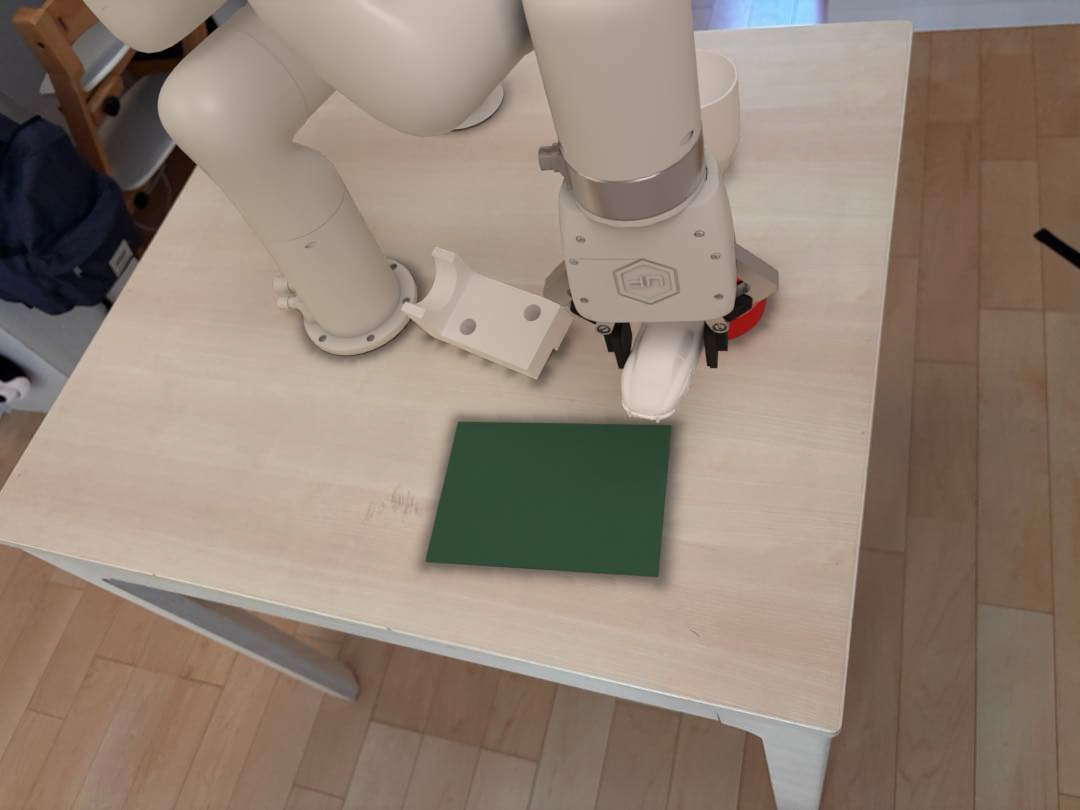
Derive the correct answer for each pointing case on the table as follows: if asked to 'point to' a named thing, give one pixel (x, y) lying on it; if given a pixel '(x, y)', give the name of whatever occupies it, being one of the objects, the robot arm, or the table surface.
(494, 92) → the teacup
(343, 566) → the table surface
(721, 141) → the mug
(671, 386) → the toy car
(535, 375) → the bracket
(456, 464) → the cloth mat
